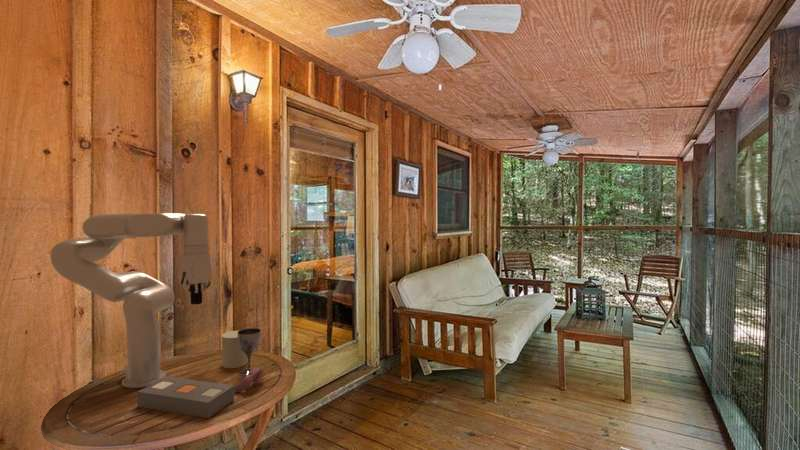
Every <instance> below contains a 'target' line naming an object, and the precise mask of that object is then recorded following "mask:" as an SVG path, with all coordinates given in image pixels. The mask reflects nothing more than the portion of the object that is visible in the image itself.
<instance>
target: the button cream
mask: <svg viewBox="0 0 800 450" xmlns="http://www.w3.org/2000/svg"><path fill="white" fill-rule="evenodd" d="M172 384H174V383H171V382H164V381H162V382H160V383H158V384H156V385H154V386H152V387H151V388H155V389H162V390H163V389H165V388H166V387H168V386H170V385H172Z"/></svg>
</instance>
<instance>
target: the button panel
mask: <svg viewBox="0 0 800 450" xmlns="http://www.w3.org/2000/svg"><path fill="white" fill-rule="evenodd" d="M162 381H164V382H171V383H174V384H172V385H170V386H168V387H166V388H165V389H163V390H162V389H155V388H151V387H152V386H154V385H156V384H158V383H160V382H162ZM185 385H192V386H198V387H197V388H195V389H194V390H192V391H190V392H189V393H181V392H175V391H176V390H178V389H180V388H181V387H183V386H185ZM234 387H235V386H234V385H231V384H226V383H225V384H224V383H218V382H210V381H203V380H196V379H187V378H183V377H176V376H166V377H165V378H164V379H162V380H160V381H158V382H156V383H154V384H152V385H150V386H146V387H143V388H141V389H140V390H138V391H137V407H139V408H144V409H145V408H147V409H150V410H151V409H152V410H156V411H157V410H158V411H162V412H170V413H176V414H181V415H188V416H192V417H193V416H194V417H198V418H199V417H200V418H203V419H204V418H205V419H209V418H211V417H212V416H214V415H215V414H216V413H218V412H219V411H220V410H222V409H223V408H225V407H226V406H228V405H229V404H230V403H232V402H233V401H235V391H234ZM210 388H213V389H220V390H223V391H222V392H220V393H219V394H217V395H215V396H214V397H208V396H201V394H202V393H204V392H205V391H207V390H209V389H210Z"/></svg>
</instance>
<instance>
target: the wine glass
mask: <svg viewBox="0 0 800 450" xmlns="http://www.w3.org/2000/svg"><path fill="white" fill-rule="evenodd" d="M237 331H238V333H237V337H238V344H239V347H240V349H241V350H242V351H243V352H244V353H245V354H246V355H247V361H248V363H247V368H244V369H240V371H239V372H238V375H240V376H243V377H245V376H246V375H247V374H248V373H249V372H250V371H251V370H253V369H257V367H252V366H251V361H252V356H253V354H254V353H255V351H256V350H257V349H258V348H259V346H260V342H261V337H262V335H261V334H262V330H261V328H257V327H247V328H243V329H240V330H237Z"/></svg>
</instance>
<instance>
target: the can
mask: <svg viewBox="0 0 800 450" xmlns="http://www.w3.org/2000/svg"><path fill="white" fill-rule="evenodd" d="M238 331H239V330H232V331H231V330H230V331H226V332H224V333H222V334H221V358H222V359H221V367H222V368H225V369H237V368H242V367H244V366H246V365H248V358H247V355H246V354H245V353H244V352H243V351H242V350H241V349H240V347H239V344H238V337H237V333H238Z"/></svg>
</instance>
